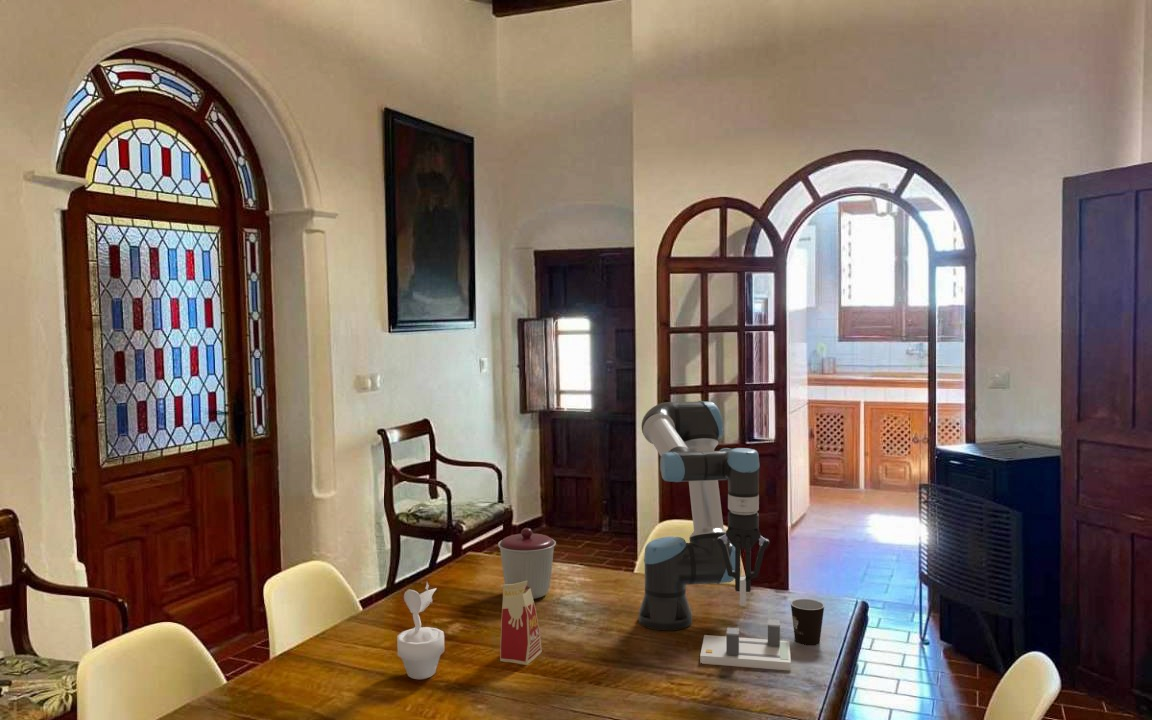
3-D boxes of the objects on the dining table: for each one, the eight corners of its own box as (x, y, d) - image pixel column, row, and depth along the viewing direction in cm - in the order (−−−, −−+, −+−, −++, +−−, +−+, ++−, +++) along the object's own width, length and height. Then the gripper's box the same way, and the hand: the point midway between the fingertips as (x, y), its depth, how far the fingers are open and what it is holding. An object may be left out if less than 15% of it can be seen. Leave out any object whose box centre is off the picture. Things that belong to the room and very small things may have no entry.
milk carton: (541, 651, 223) (540, 576, 222) (528, 665, 214) (527, 587, 213) (509, 647, 226) (508, 573, 225) (495, 661, 217) (493, 583, 216)
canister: (555, 604, 259) (554, 535, 258) (495, 604, 259) (494, 536, 258) (557, 585, 277) (556, 521, 276) (501, 585, 278) (500, 521, 276)
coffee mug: (825, 648, 223) (825, 610, 223) (791, 646, 225) (791, 608, 224) (821, 632, 234) (821, 596, 234) (789, 630, 236) (789, 594, 236)
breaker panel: (700, 663, 214) (700, 654, 214) (704, 642, 228) (704, 634, 228) (790, 670, 210) (790, 661, 209) (789, 648, 223) (789, 640, 223)
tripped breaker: (726, 654, 214) (726, 633, 214) (727, 648, 218) (727, 627, 217) (738, 655, 213) (738, 634, 213) (739, 649, 217) (739, 628, 217)
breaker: (767, 645, 219) (767, 624, 219) (767, 639, 223) (767, 619, 223) (779, 646, 219) (779, 625, 218) (779, 640, 223) (779, 619, 222)
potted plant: (423, 689, 202) (421, 584, 200) (387, 678, 208) (384, 576, 206) (458, 669, 212) (456, 570, 211) (422, 660, 218) (420, 563, 217)
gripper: (715, 513, 211) (715, 607, 212) (770, 516, 208) (769, 611, 209) (717, 506, 218) (717, 597, 220) (770, 508, 215) (769, 600, 217)
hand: (742, 603), depth 215 cm, fingers closed
